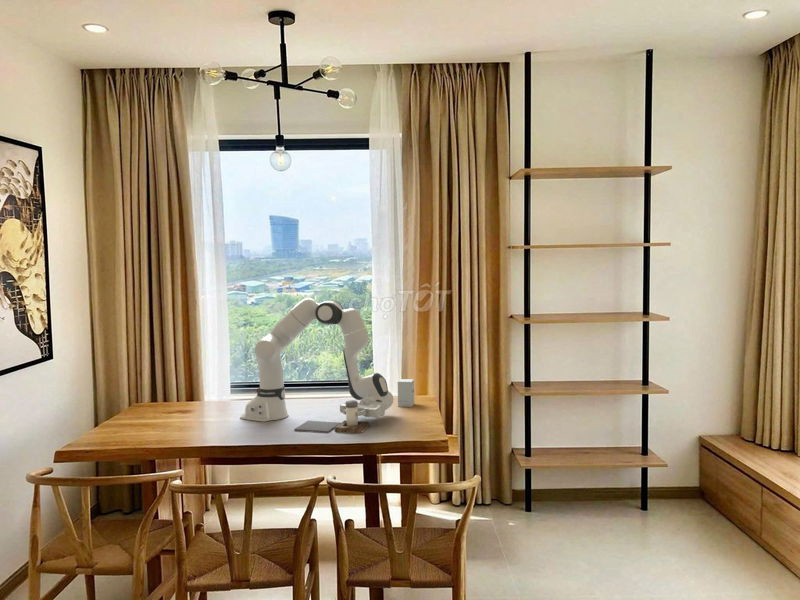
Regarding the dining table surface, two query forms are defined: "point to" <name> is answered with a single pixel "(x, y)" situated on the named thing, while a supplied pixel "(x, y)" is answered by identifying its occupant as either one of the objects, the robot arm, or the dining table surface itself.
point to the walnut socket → (344, 428)
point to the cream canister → (351, 413)
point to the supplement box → (405, 392)
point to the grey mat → (317, 426)
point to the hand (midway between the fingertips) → (350, 413)
